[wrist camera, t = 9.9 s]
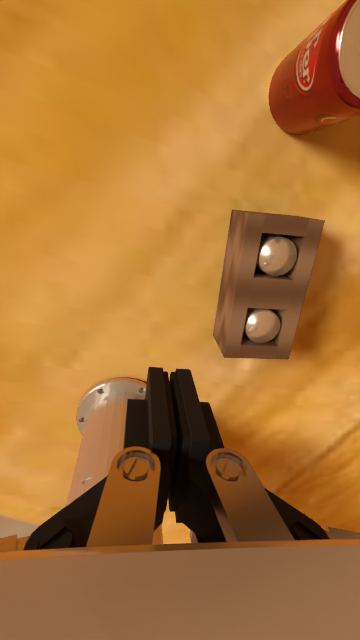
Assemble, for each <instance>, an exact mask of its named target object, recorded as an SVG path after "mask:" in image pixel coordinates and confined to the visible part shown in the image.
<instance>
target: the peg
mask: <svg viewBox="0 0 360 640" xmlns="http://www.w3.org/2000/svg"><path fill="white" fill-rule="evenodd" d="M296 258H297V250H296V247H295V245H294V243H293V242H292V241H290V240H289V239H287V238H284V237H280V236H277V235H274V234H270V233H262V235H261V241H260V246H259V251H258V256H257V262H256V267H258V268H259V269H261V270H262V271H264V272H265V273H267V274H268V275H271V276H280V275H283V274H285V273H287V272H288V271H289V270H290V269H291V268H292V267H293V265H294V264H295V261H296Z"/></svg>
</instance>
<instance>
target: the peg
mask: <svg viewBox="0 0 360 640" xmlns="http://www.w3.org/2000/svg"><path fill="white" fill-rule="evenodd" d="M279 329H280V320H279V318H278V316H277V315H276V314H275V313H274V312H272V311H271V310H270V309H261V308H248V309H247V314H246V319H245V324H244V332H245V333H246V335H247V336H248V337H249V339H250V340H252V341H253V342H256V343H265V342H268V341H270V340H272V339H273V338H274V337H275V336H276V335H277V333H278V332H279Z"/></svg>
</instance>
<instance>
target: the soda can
mask: <svg viewBox="0 0 360 640" xmlns="http://www.w3.org/2000/svg"><path fill="white" fill-rule="evenodd" d="M269 106H270V111H271V113H272V116H273V118H274V120H275V122H276V123H277V124H278V125H279V127H280V128H281V129H283V130H284V131H286V132H288V133H291V134H296V135H302V134H307V133H310V132H313V131H316V130H319V129H322V128H324V127H327V126H330V125H333V124H336V123H339V122H341V121H344V120H347V119H350V118H353V117H356V116H359V115H360V0H346V1H345V2H344V3H343V4H342V5H341V6H340V7H339V8H337V9H336V10H335V11H334V12H333V13H332V14H331V15H330V16H329V17H328V18H327V19H326V20H325V21H324V22H323V23H321V24H320V25H319V26H318V27H317V28H316V29H315V30H314V31H313V32H312V33H311V34H310V35H309V36H308V37H307V38H305V39H304V40H303V41H302V42H301V43H300V44H299V45H298V46H297V47H296V48H295V49H294V50H293V51H292V52H290V53H289V54H288V55H287V56H286V57H285V58H284V59H283V60H282V61H281V63H280V64H279V66H278V67H277V69H276V71H275V73H274V75H273V77H272V80H271V84H270V88H269Z"/></svg>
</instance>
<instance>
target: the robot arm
mask: <svg viewBox="0 0 360 640" xmlns="http://www.w3.org/2000/svg"><path fill="white" fill-rule="evenodd" d="M76 420H77V425H78V428H79V430H80V432H81V433H82V435H83V437H82V441H81V445H80V449H79V453H78V458H77V462H76V466H75V470H74V474H73V478H72V482H71V486H70V490H69V495H68V499H67V503H66V507H65V508H63V509H62V510H61V511H59V512H58V513H57V514H55V515H54V516H53V517H51V518H50V519H49V520H47V521H46V522H44V523H43V524H42V525H40V526H39V527H38V528H37V529H36V530H35V531H34V532H33V533H32V534H31V536H27V537H23V538H19V539H17V535H12V536H8V537H4V538H0V640H360V534H359V533H354V532H350V531H345V530H340V529H336V528H331V527H327V529H326V531H325V530H323V529H322V528H321V526H319V525H318V524H317V523H316V522H314V521H313V520H312V519H310V518H309V517H307V516H306V515H304V514H303V513H301V512H300V511H298V510H297V509H295V508H294V507H292V506H291V505H289V504H288V503H286V502H285V501H283V500H282V499H280V498H279V497H277V496H276V495H274V494H273V493H271V492H270V491H268V490H267V489H265V488H264V487H263V485H262V484H261V482H260V480H259V478H258V477H257V475H256V473H255V472H254V470H253V468H252V467H251V465H250V463H249V462H248V461H247V459H246V458H245V457H244V456H242V455H241V454H240V453H238V452H236V451H234V450H231V449H227V448H224V445H223V442H222V439H221V436H220V433H219V430H218V427H217V424H216V421H215V418H214V415H213V412H212V410H211V407H210V404H209V403H208V402H199V399H198V395H197V392H196V388H195V385H194V381H193V378H192V374H191V371H190V370H189V369H176V372H171V374H170V381H169V378H168V372H164V371H163V368H157V367H149V369H148V377H147V384H146V383H145V382H142V381H139V380H136V379H131V378H114V379H109V380H106V381H103V382H100V383H98V384H97V385H95V386H93V387H92V388H91V389H89V390H88V391H87V392H86V393H85V395H84V396H83V397H82V399H81V401H80V403H79V406H78V409H77V415H76ZM167 500H169V510H170V512H171V511H175V515H176V523H184V524H185V525H186V526H187V527H188V528H189V529H190V538H191V543H186V544H163V534H162V521H163V516H164V512H165V511H166V506H167Z"/></svg>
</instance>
